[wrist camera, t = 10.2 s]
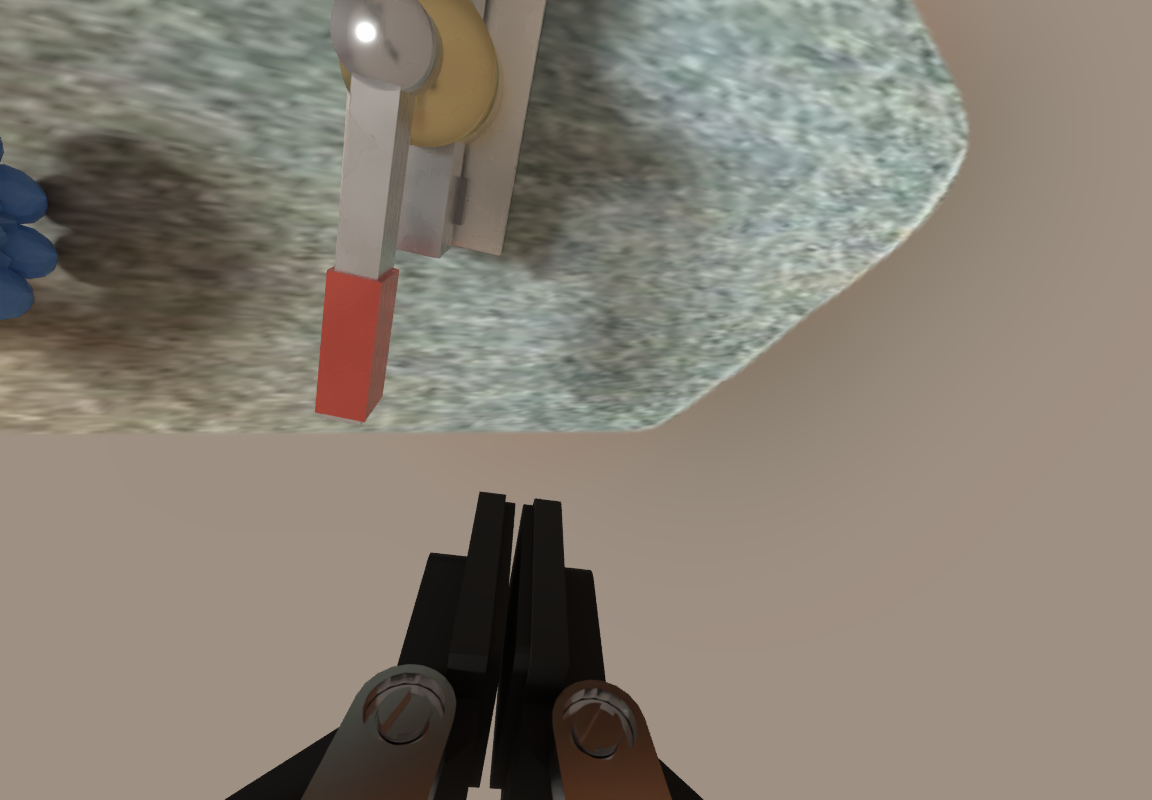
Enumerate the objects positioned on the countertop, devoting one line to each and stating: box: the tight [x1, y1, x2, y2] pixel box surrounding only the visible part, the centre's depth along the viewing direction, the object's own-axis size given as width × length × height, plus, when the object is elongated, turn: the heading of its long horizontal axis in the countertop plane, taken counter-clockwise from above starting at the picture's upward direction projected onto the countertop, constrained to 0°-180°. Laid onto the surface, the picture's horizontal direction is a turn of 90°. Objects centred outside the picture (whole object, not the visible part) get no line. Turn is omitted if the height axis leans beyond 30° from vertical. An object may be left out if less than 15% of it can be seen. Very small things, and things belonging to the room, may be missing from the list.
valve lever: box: [315, 0, 443, 425], centre depth 21 cm, size 16×3×3 cm, turn 165°
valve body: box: [339, 0, 547, 259], centre depth 25 cm, size 16×9×10 cm, turn 167°
